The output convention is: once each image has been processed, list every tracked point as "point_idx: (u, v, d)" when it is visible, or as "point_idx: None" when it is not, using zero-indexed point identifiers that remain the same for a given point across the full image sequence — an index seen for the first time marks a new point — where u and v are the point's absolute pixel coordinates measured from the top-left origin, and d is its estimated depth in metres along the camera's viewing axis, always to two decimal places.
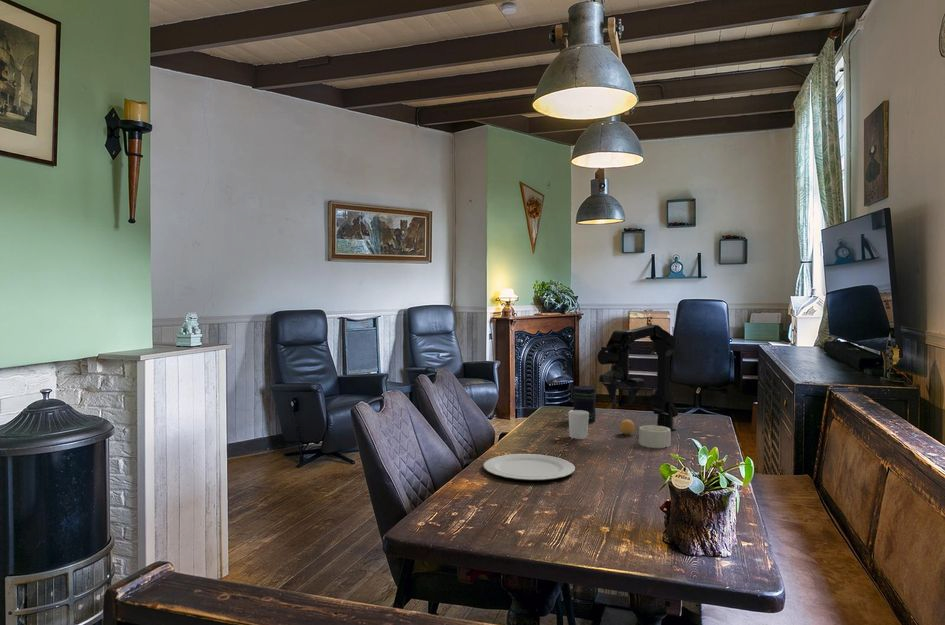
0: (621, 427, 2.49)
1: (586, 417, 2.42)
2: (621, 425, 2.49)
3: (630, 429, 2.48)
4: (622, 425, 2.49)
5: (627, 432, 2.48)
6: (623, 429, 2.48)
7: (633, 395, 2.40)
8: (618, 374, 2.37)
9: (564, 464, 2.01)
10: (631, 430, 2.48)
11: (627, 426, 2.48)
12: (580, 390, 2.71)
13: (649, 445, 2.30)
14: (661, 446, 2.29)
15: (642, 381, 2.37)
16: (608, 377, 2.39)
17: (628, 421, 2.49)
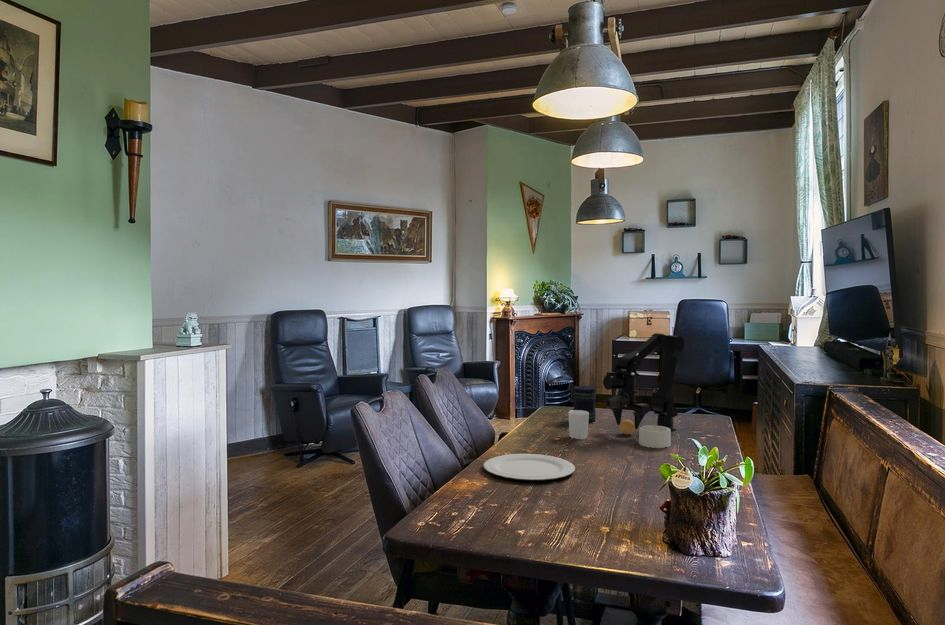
0: (621, 427, 2.49)
1: (586, 417, 2.42)
2: (621, 425, 2.49)
3: (630, 429, 2.48)
4: (622, 425, 2.49)
5: (627, 432, 2.48)
6: (623, 429, 2.48)
7: (639, 420, 2.46)
8: (625, 399, 2.43)
9: (564, 464, 2.01)
10: (631, 430, 2.48)
11: (627, 426, 2.48)
12: (580, 390, 2.71)
13: (649, 445, 2.30)
14: (661, 446, 2.29)
15: (648, 407, 2.43)
16: (615, 402, 2.45)
17: (628, 421, 2.49)
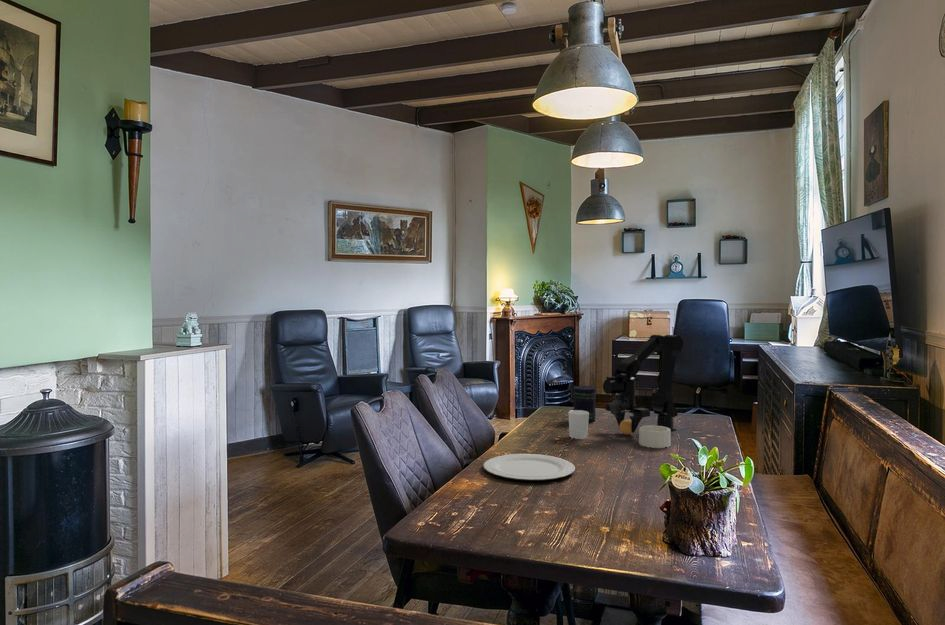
0: (621, 427, 2.49)
1: (586, 417, 2.42)
2: (621, 425, 2.49)
3: (630, 429, 2.48)
4: (622, 425, 2.49)
5: (627, 432, 2.48)
6: (623, 429, 2.48)
7: (636, 424, 2.47)
8: (624, 404, 2.43)
9: (564, 464, 2.01)
10: (631, 430, 2.48)
11: (627, 426, 2.48)
12: (580, 390, 2.71)
13: (649, 445, 2.30)
14: (661, 446, 2.29)
15: (648, 411, 2.43)
16: (614, 407, 2.45)
17: (628, 421, 2.49)
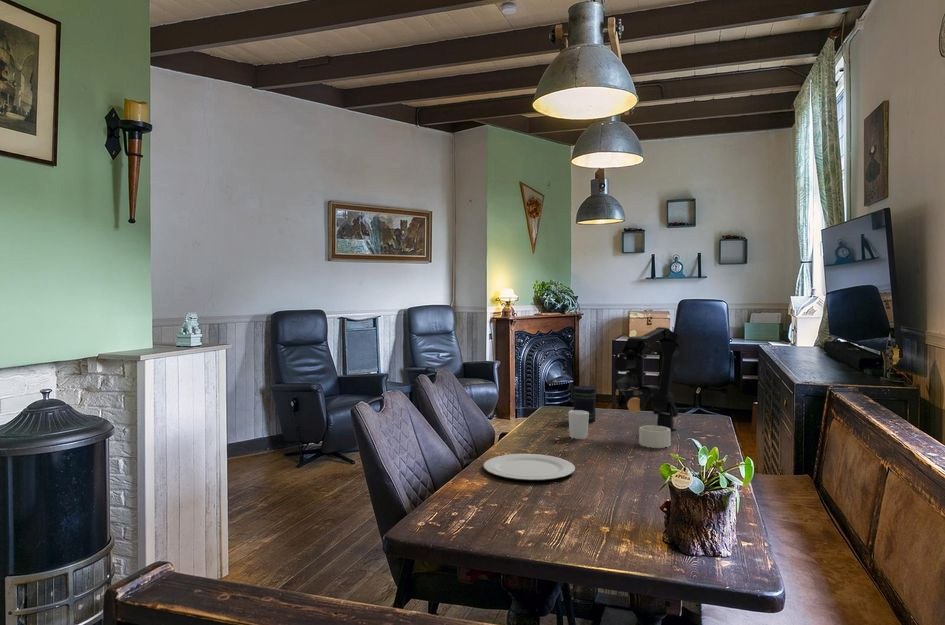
0: (629, 405, 2.44)
1: (586, 417, 2.42)
2: (629, 403, 2.44)
3: (638, 407, 2.42)
4: (630, 403, 2.43)
5: (635, 410, 2.43)
6: (631, 407, 2.43)
7: (644, 401, 2.41)
8: (632, 381, 2.38)
9: (564, 464, 2.01)
10: (639, 408, 2.42)
11: (635, 404, 2.42)
12: (580, 390, 2.71)
13: (649, 445, 2.30)
14: (661, 446, 2.29)
15: (656, 388, 2.38)
16: (622, 383, 2.39)
17: (636, 399, 2.43)
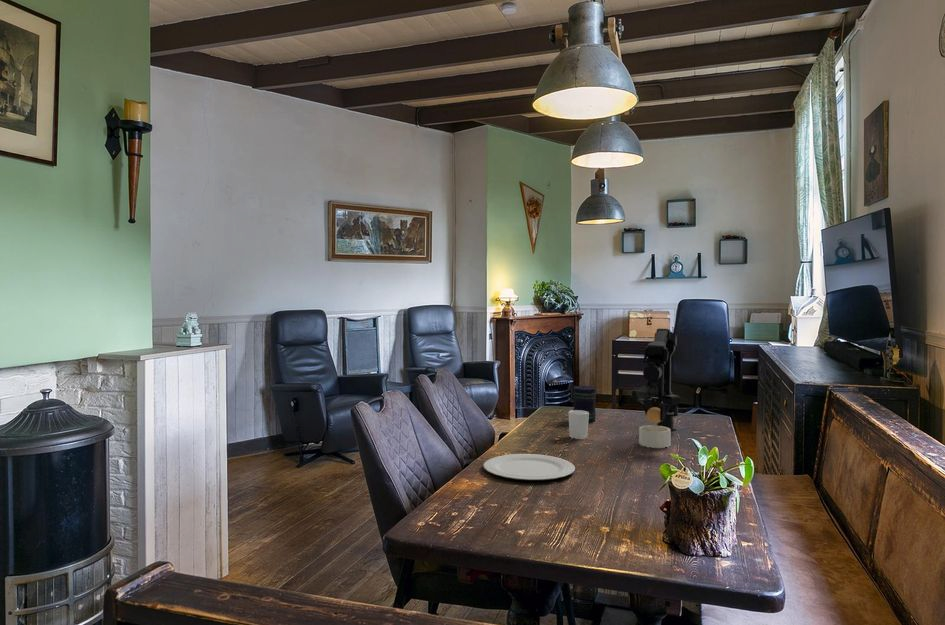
0: (649, 415, 2.33)
1: (586, 417, 2.42)
2: (649, 413, 2.33)
3: (658, 417, 2.31)
4: (650, 413, 2.32)
5: (655, 420, 2.32)
6: (651, 417, 2.32)
7: (665, 412, 2.31)
8: (653, 390, 2.27)
9: (564, 464, 2.01)
10: (659, 418, 2.31)
11: (655, 414, 2.31)
12: (580, 390, 2.71)
13: (649, 445, 2.30)
14: (661, 446, 2.29)
15: (678, 398, 2.27)
16: (642, 393, 2.28)
17: (656, 409, 2.32)
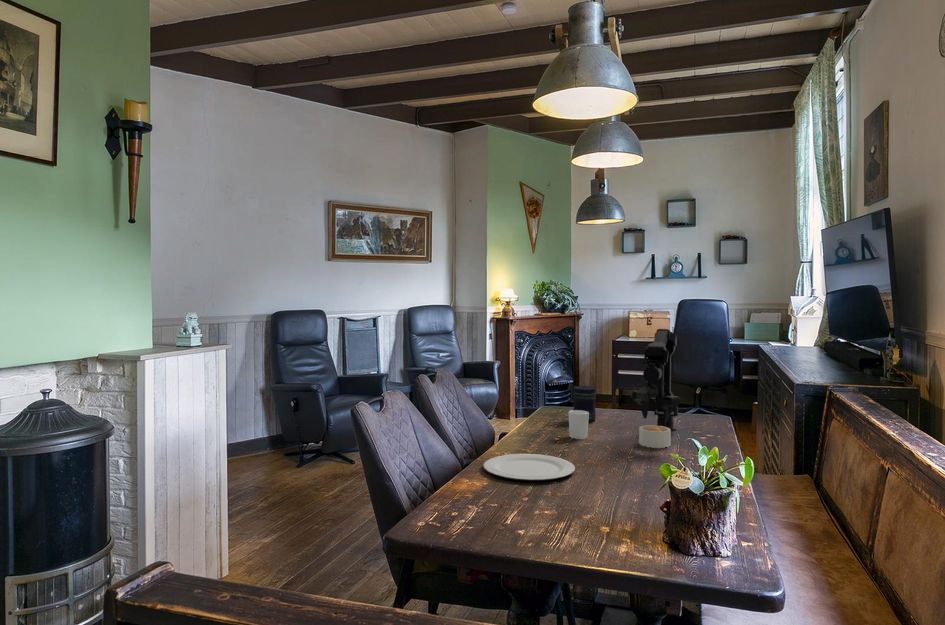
0: None
1: (586, 417, 2.42)
2: None
3: None
4: None
5: None
6: None
7: (668, 413, 2.29)
8: (653, 391, 2.27)
9: (564, 464, 2.01)
10: None
11: None
12: (580, 390, 2.71)
13: (649, 445, 2.30)
14: (661, 446, 2.29)
15: (678, 399, 2.27)
16: (642, 394, 2.28)
17: (656, 429, 2.33)
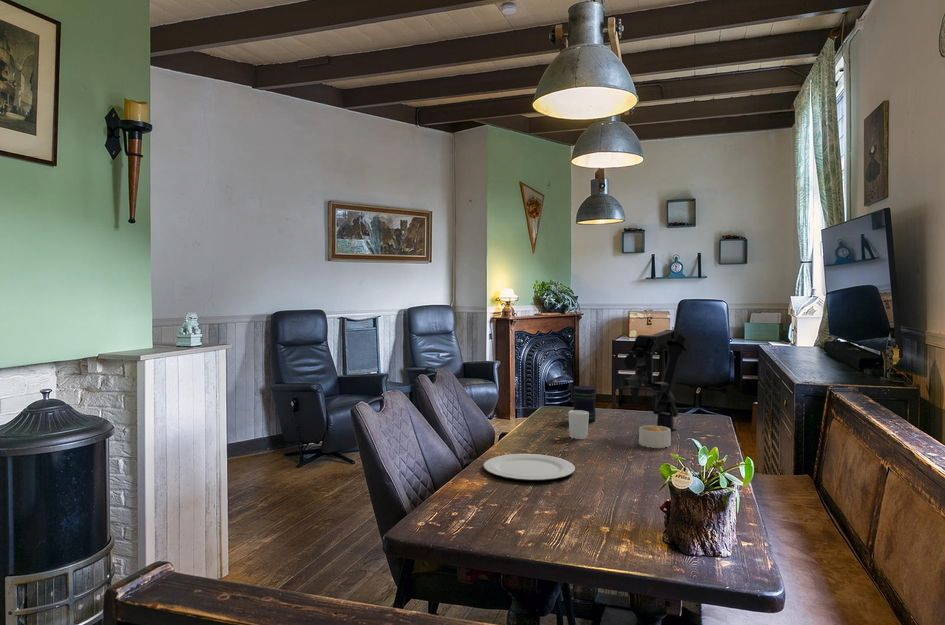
0: None
1: (586, 417, 2.42)
2: None
3: None
4: None
5: None
6: None
7: (657, 398, 2.45)
8: (643, 378, 2.41)
9: (564, 464, 2.01)
10: None
11: None
12: (580, 390, 2.71)
13: (649, 445, 2.30)
14: (661, 446, 2.29)
15: (667, 385, 2.42)
16: (633, 381, 2.43)
17: (656, 428, 2.33)
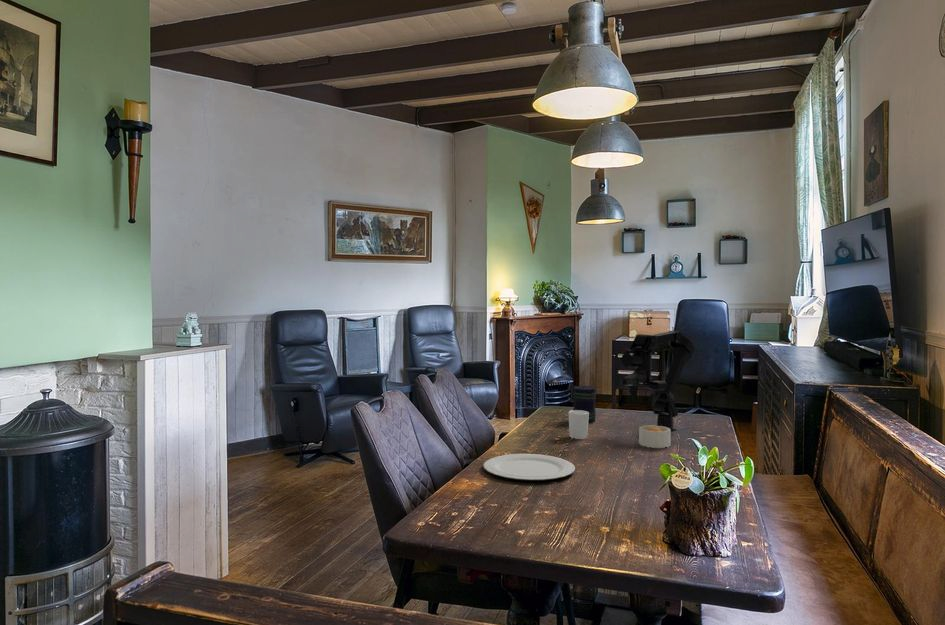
0: None
1: (586, 417, 2.42)
2: None
3: None
4: None
5: None
6: None
7: (655, 397, 2.46)
8: (641, 376, 2.44)
9: (564, 464, 2.01)
10: None
11: None
12: (580, 390, 2.71)
13: (649, 445, 2.30)
14: (661, 446, 2.29)
15: (664, 384, 2.44)
16: (631, 379, 2.45)
17: (655, 428, 2.33)
